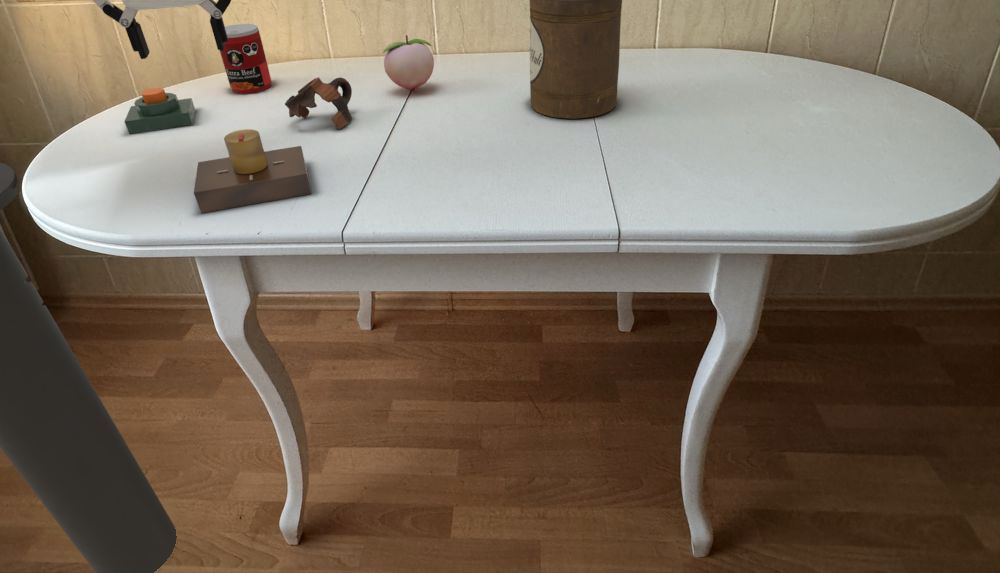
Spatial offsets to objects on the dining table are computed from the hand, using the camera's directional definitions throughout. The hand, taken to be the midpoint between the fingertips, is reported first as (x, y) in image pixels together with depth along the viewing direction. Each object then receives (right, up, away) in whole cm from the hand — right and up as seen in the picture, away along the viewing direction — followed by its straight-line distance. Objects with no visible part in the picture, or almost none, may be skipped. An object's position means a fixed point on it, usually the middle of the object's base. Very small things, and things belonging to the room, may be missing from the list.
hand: (184, 52), depth 84 cm
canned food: (-6, +7, +38) cm, 39 cm away
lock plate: (+9, -18, +2) cm, 20 cm away
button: (-16, 0, +22) cm, 28 cm away
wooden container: (+55, 0, +24) cm, 60 cm away
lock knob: (+9, -16, 0) cm, 18 cm away
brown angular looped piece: (+13, -4, +22) cm, 26 cm away
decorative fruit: (+27, +5, +33) cm, 43 cm away
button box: (-16, -3, +25) cm, 29 cm away
